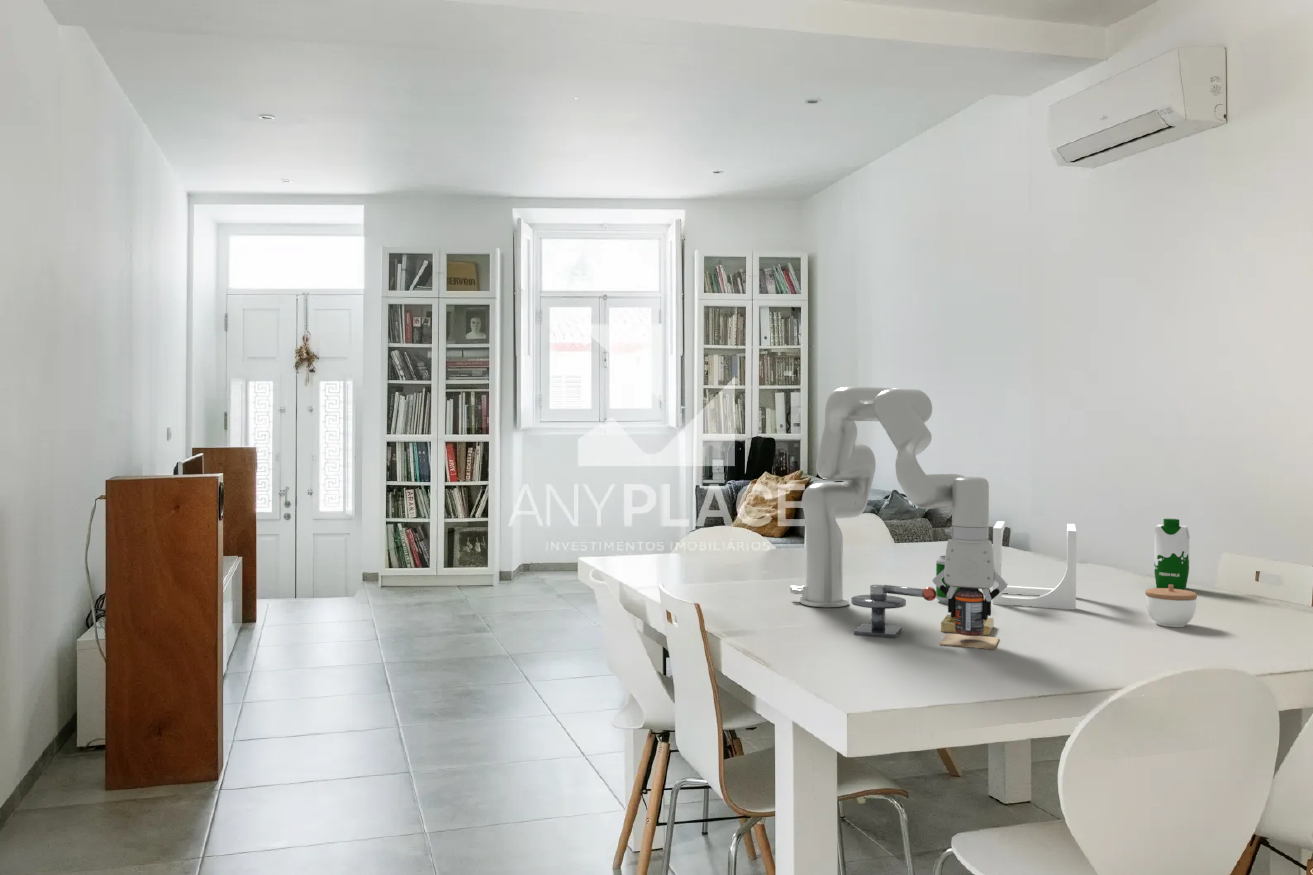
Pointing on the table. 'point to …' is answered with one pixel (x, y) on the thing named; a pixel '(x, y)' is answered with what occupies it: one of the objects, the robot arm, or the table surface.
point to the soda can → (940, 567)
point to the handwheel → (884, 601)
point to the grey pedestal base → (878, 626)
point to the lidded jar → (1171, 606)
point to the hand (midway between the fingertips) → (969, 616)
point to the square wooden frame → (949, 625)
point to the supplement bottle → (969, 612)
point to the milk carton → (1171, 554)
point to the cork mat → (970, 641)
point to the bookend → (1050, 597)
